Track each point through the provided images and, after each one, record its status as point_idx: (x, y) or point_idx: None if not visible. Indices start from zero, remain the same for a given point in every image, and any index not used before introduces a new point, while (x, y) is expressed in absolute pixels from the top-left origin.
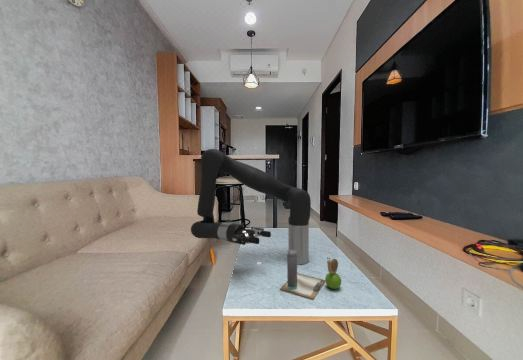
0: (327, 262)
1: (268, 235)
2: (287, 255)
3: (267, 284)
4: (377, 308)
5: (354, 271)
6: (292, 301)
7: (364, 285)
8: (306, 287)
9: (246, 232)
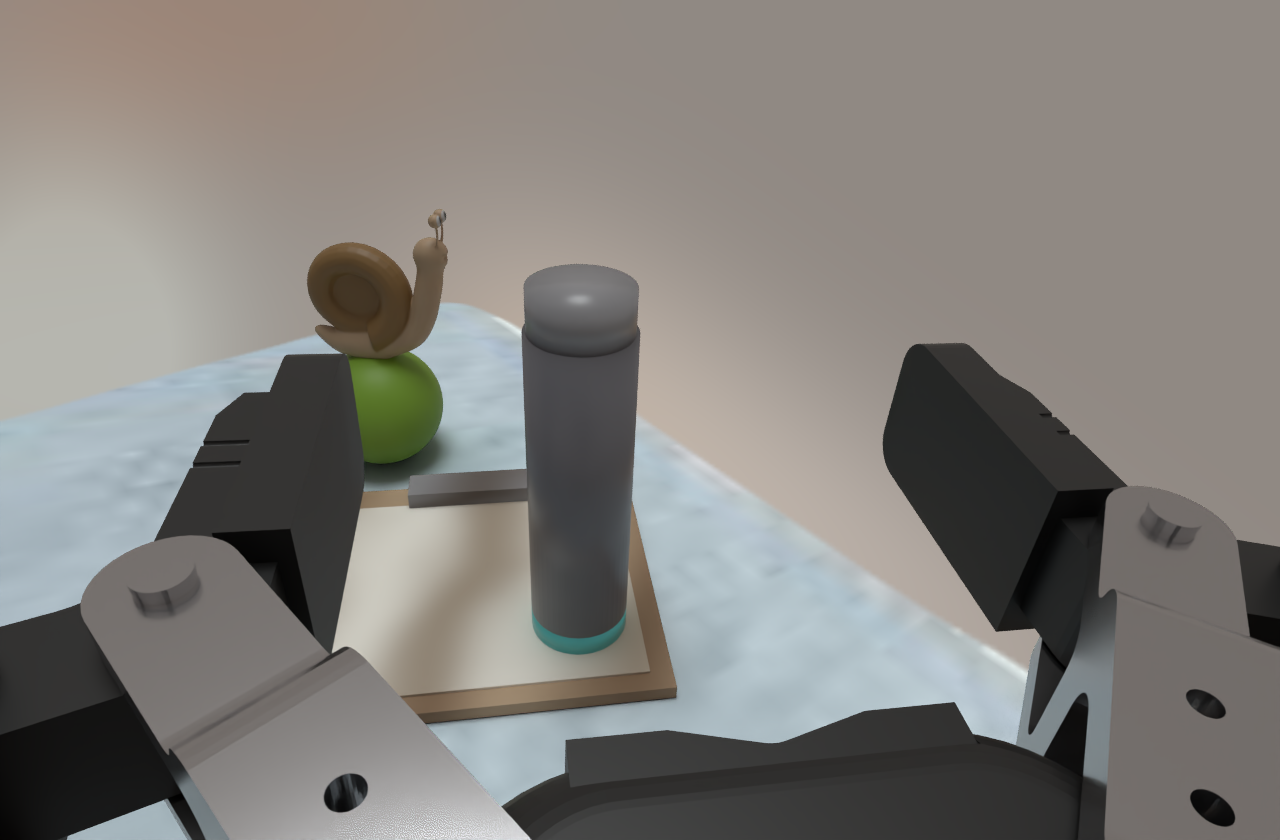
0: (441, 257)
1: (352, 463)
2: (624, 352)
3: None
4: (495, 319)
5: (30, 422)
6: (740, 559)
7: (268, 366)
8: (511, 543)
9: (1112, 739)
